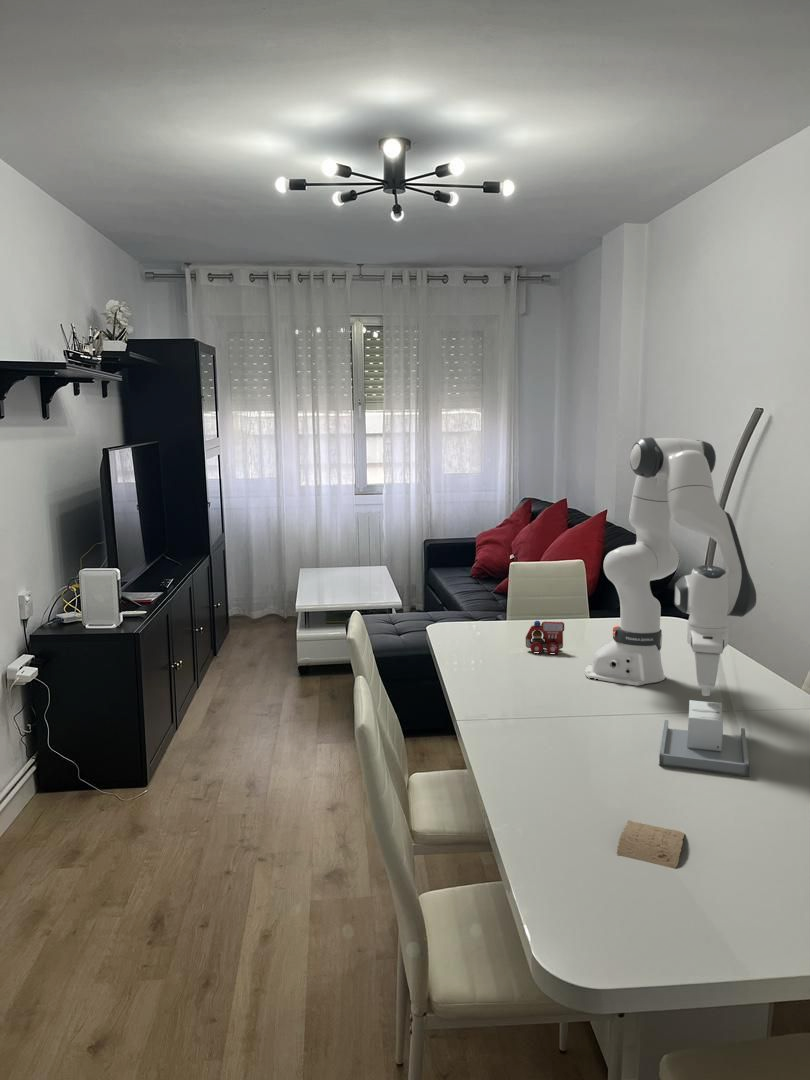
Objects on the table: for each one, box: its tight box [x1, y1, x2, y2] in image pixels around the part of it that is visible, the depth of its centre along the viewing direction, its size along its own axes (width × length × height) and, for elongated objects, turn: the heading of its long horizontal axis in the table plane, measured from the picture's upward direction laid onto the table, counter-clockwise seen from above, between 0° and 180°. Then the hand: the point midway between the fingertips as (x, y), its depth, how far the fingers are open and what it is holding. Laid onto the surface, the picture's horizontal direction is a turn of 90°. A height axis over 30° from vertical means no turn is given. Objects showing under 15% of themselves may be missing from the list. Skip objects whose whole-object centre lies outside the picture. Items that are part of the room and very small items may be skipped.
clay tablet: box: [616, 819, 686, 870], centre depth 138 cm, size 14×10×3 cm
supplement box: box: [687, 699, 724, 752], centre depth 182 cm, size 7×7×13 cm
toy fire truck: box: [525, 620, 565, 654], centre depth 258 cm, size 7×12×10 cm, turn 75°
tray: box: [658, 719, 750, 778], centre depth 177 cm, size 18×22×2 cm
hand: (705, 694), depth 186 cm, fingers closed
